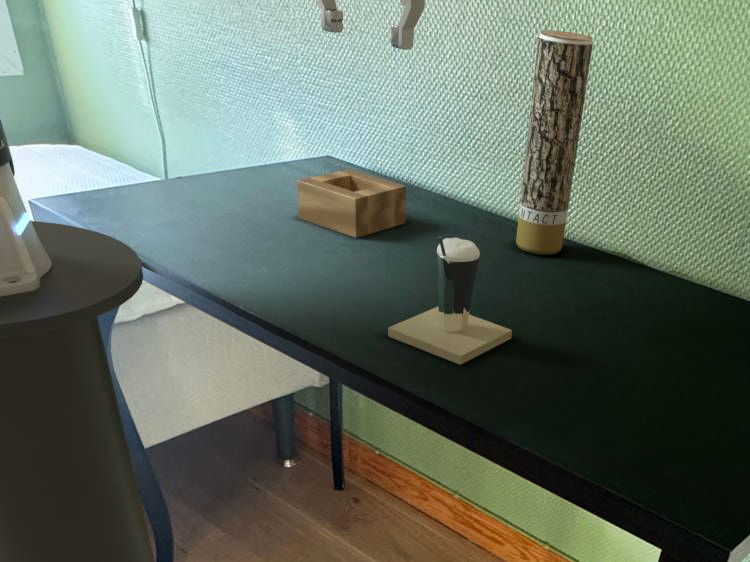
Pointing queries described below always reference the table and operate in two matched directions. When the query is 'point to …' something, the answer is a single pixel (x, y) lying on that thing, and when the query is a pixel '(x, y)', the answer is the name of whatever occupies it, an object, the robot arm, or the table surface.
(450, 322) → the milkshake
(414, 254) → the table surface
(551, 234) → the paper tube
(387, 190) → the holder
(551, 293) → the table surface
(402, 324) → the mat
